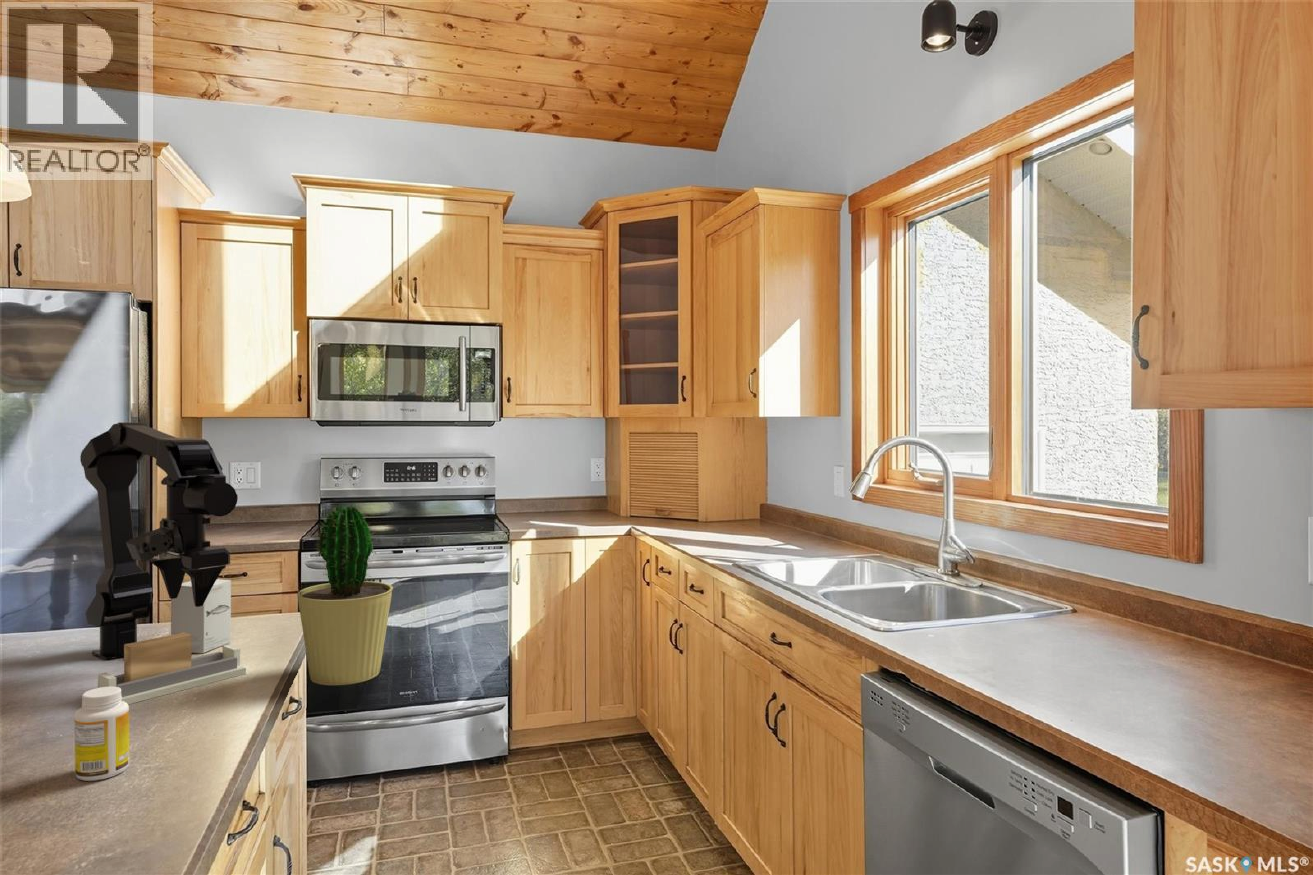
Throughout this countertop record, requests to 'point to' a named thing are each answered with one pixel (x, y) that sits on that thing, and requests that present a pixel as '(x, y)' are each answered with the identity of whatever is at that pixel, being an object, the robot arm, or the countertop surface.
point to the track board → (178, 676)
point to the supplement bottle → (101, 734)
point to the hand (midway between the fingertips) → (185, 602)
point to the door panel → (156, 656)
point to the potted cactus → (345, 605)
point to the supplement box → (203, 616)
